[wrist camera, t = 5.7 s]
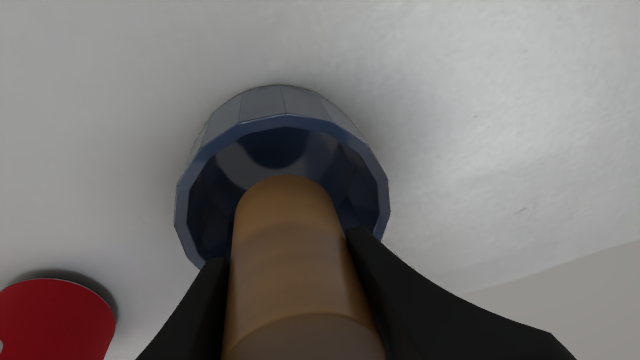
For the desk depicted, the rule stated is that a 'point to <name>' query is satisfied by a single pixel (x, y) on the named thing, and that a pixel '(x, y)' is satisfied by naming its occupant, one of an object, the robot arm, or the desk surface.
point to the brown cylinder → (294, 280)
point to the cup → (274, 165)
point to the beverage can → (53, 321)
